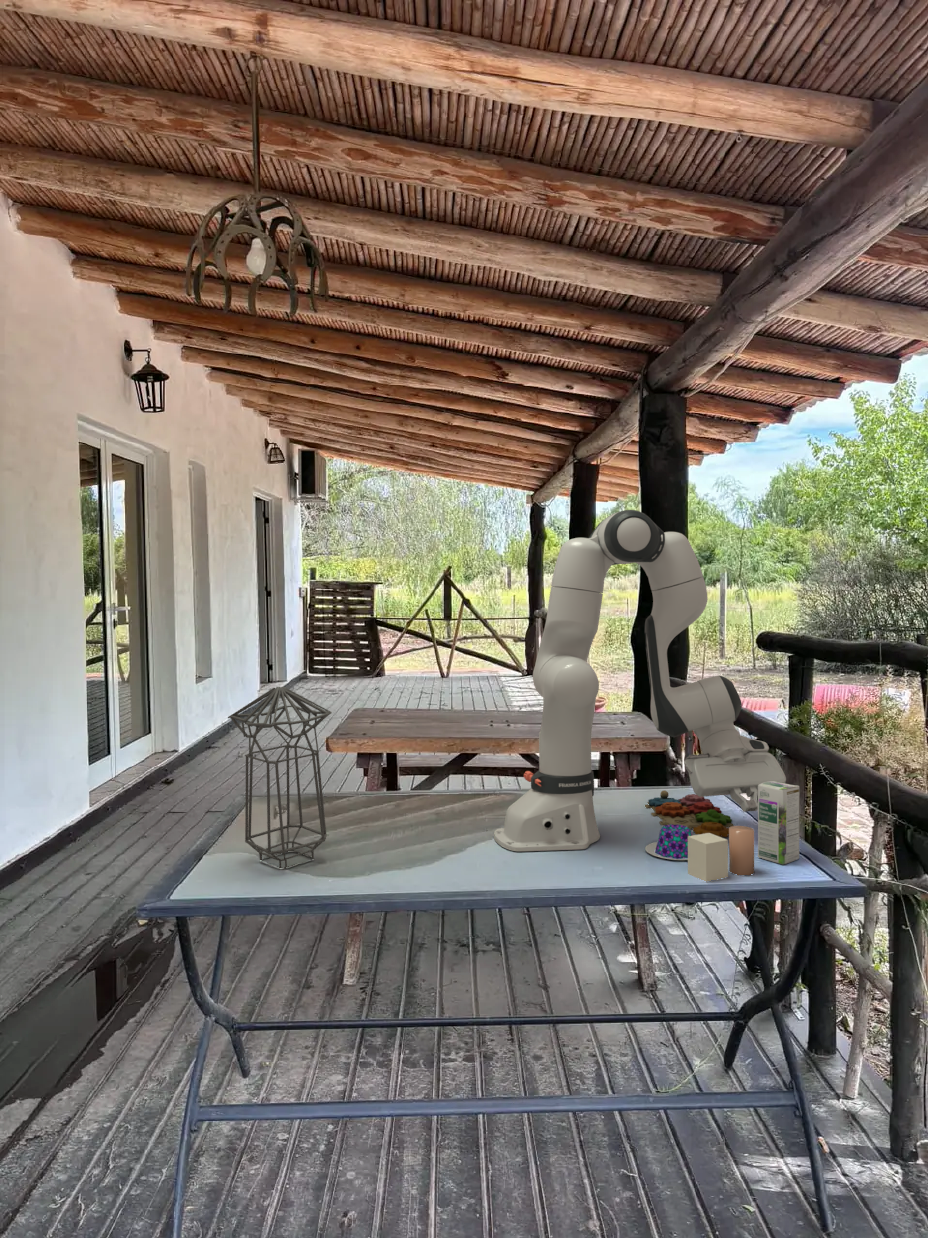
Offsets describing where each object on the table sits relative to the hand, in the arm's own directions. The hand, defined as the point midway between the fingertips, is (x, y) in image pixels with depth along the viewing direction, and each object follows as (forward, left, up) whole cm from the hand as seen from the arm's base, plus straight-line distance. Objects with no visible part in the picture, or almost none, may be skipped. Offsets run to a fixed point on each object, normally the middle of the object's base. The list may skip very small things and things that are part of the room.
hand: (751, 810), depth 168 cm
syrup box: (0, -8, -8) cm, 11 cm away
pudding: (-16, +1, -8) cm, 18 cm away
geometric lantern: (-93, +18, -8) cm, 95 cm away
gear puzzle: (-2, +21, -8) cm, 22 cm away
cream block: (-18, -13, -7) cm, 23 cm away
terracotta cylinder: (-11, -13, -7) cm, 18 cm away
